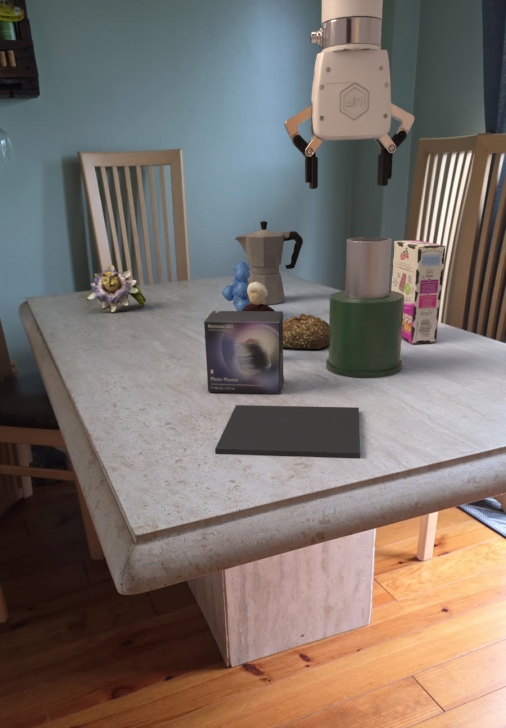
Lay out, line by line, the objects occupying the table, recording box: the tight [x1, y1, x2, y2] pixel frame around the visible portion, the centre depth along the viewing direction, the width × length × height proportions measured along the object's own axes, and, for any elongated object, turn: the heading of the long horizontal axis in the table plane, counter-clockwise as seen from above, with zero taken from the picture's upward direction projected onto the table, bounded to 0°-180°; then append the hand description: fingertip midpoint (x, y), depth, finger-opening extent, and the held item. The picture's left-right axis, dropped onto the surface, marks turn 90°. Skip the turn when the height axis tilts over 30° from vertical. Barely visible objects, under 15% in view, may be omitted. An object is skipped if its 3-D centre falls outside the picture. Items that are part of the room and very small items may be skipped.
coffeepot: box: [235, 220, 304, 306], centre depth 144 cm, size 15×9×18 cm, turn 87°
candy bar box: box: [390, 239, 447, 345], centre depth 110 cm, size 11×5×16 cm, turn 10°
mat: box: [214, 404, 361, 459], centre depth 75 cm, size 16×14×1 cm
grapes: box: [221, 260, 251, 311], centre depth 127 cm, size 12×7×12 cm, turn 1°
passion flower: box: [86, 264, 147, 313], centre depth 144 cm, size 11×11×12 cm
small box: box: [203, 310, 285, 395], centre depth 88 cm, size 11×6×10 cm, turn 82°
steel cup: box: [344, 236, 393, 299], centre depth 92 cm, size 6×6×8 cm
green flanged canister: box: [325, 290, 404, 379], centre depth 95 cm, size 12×12×11 cm
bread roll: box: [283, 313, 329, 350], centre depth 112 cm, size 13×12×5 cm
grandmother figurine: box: [242, 282, 276, 311], centre depth 100 cm, size 8×4×13 cm, turn 92°
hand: (347, 187), depth 86 cm, fingers open, 9 cm apart
